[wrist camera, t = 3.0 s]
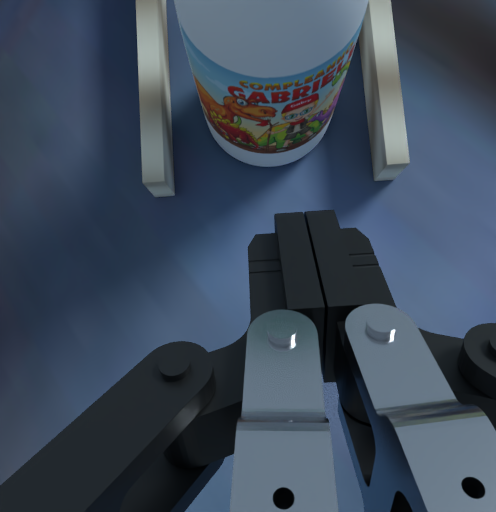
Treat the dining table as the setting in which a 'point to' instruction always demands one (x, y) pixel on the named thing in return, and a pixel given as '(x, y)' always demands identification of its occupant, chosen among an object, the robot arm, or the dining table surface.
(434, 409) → the robot arm
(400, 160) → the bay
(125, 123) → the dining table surface
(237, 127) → the milk bottle
